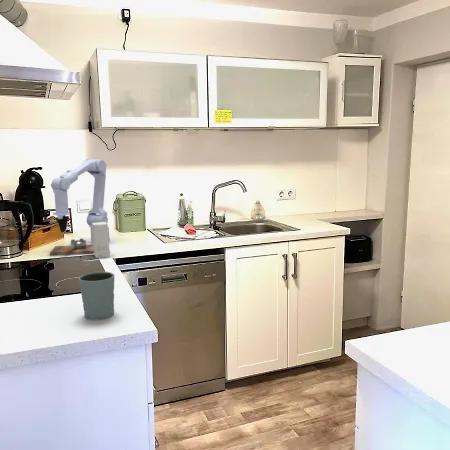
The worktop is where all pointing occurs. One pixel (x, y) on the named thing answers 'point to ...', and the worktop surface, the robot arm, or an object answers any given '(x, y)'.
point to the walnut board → (72, 251)
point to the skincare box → (100, 240)
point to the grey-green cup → (97, 294)
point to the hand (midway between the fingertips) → (63, 231)
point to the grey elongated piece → (75, 245)
